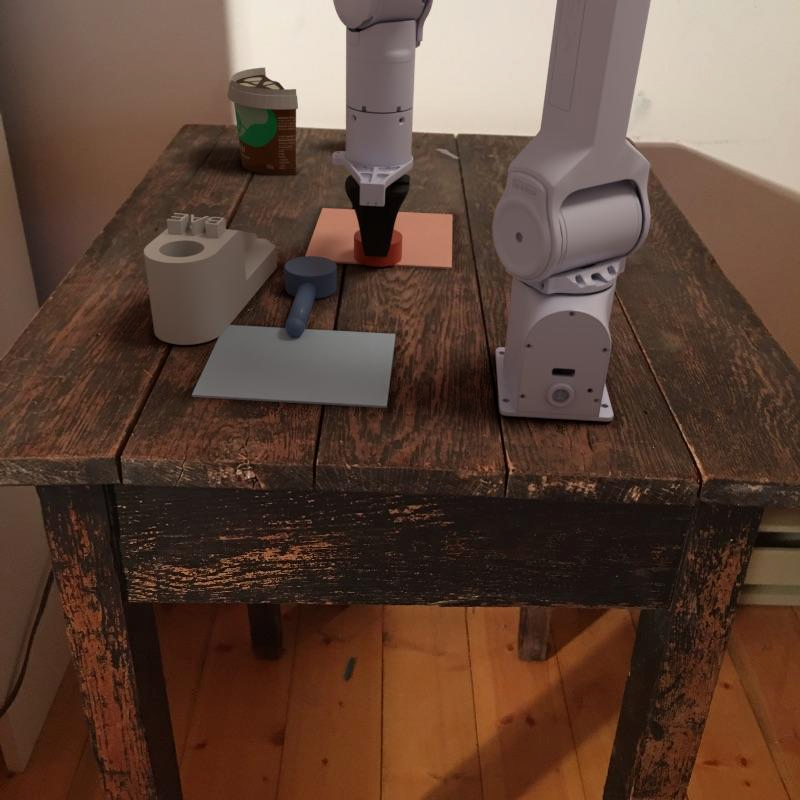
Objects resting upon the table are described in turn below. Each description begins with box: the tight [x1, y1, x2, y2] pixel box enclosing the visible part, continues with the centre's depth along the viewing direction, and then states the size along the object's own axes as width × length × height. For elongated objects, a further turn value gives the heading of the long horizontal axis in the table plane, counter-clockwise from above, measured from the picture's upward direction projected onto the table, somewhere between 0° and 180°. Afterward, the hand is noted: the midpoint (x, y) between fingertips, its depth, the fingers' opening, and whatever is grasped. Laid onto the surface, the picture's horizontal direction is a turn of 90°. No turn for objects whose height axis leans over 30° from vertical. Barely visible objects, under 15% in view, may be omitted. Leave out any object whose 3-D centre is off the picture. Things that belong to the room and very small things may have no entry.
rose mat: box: [304, 207, 454, 270], centre depth 92 cm, size 14×14×1 cm
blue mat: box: [191, 324, 397, 409], centre depth 70 cm, size 11×14×1 cm
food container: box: [227, 67, 299, 176], centre depth 108 cm, size 12×6×10 cm, turn 25°
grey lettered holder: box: [143, 212, 278, 346], centre depth 77 cm, size 6×18×8 cm, turn 168°
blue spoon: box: [283, 255, 338, 337], centre depth 78 cm, size 12×5×2 cm, turn 177°
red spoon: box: [354, 230, 403, 268], centre depth 90 cm, size 12×5×2 cm, turn 178°
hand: (376, 254), depth 85 cm, fingers closed, pressing on red spoon
